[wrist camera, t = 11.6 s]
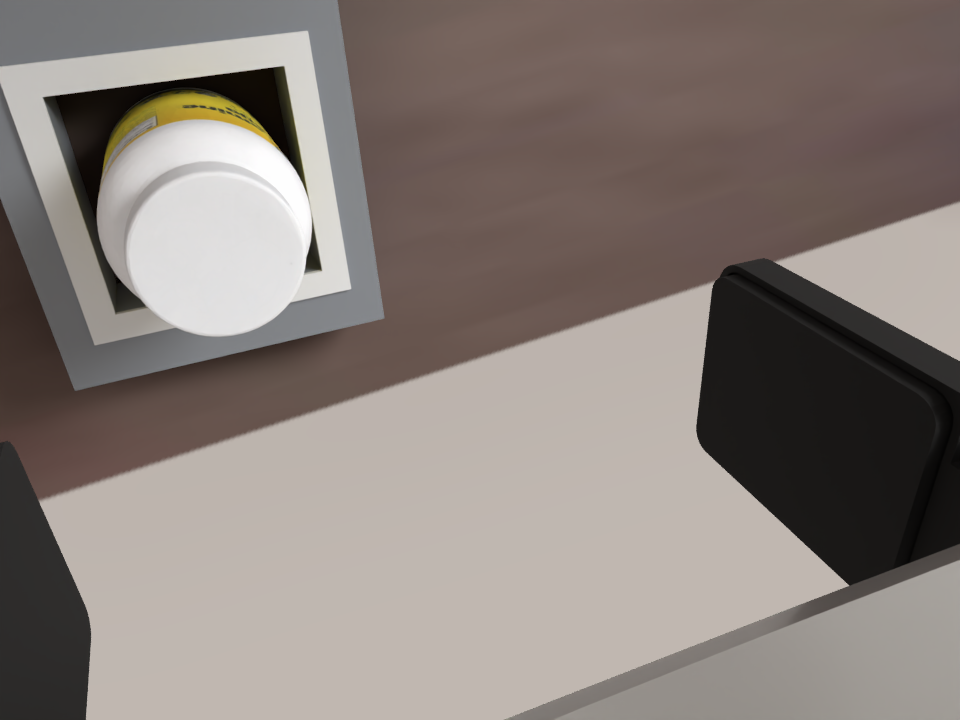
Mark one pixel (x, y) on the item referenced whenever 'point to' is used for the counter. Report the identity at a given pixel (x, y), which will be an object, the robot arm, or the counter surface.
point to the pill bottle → (202, 213)
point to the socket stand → (156, 58)
